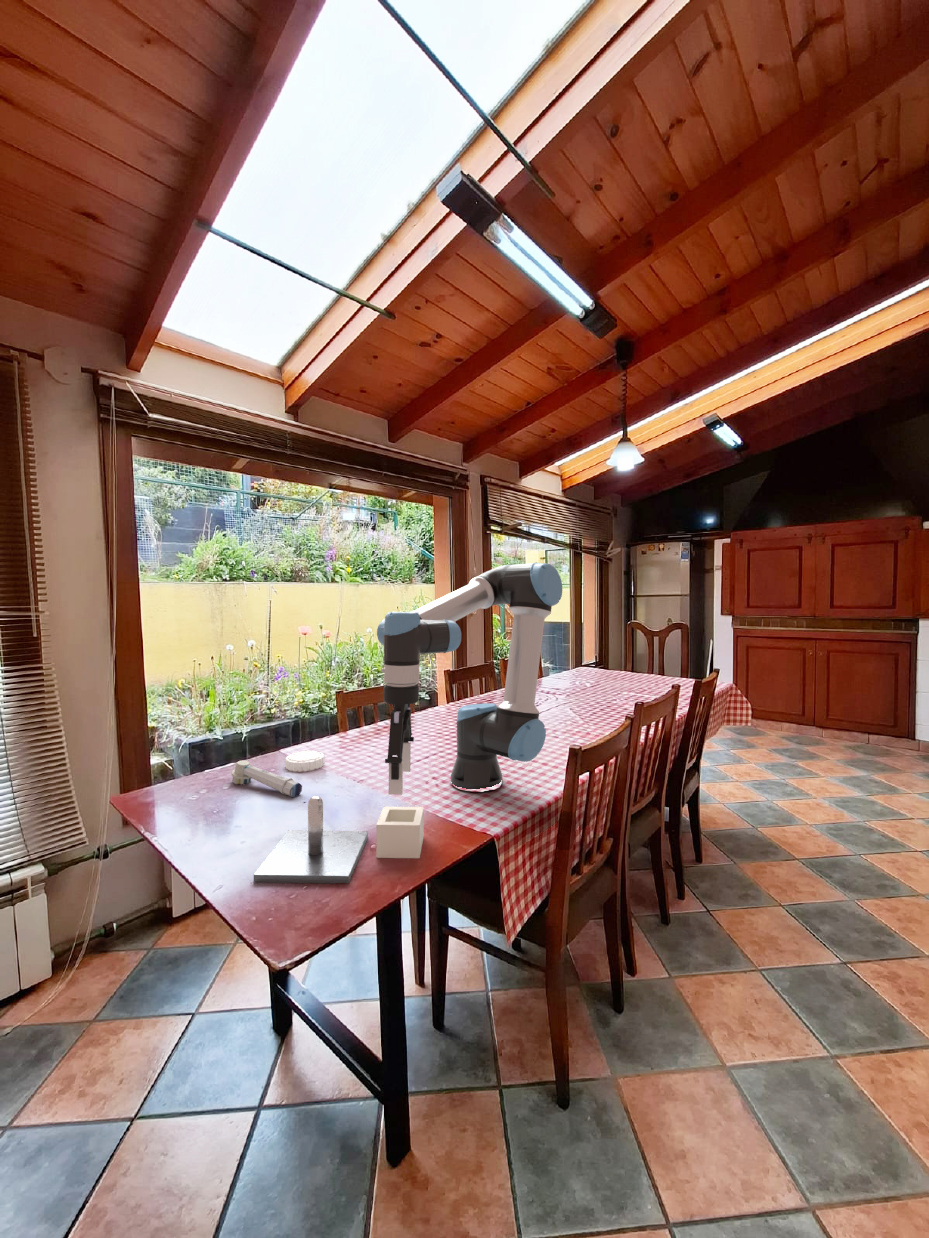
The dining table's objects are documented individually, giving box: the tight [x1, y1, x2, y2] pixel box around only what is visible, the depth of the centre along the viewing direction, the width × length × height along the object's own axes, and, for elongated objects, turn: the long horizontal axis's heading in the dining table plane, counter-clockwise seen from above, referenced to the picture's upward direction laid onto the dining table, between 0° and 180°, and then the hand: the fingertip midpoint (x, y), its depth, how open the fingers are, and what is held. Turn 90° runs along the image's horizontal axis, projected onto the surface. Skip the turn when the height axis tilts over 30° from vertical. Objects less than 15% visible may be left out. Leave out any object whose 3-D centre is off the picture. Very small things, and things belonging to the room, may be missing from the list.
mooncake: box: [284, 750, 325, 773], centre depth 160 cm, size 12×12×4 cm
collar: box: [375, 806, 425, 859], centre depth 108 cm, size 9×9×7 cm
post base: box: [253, 795, 369, 884], centre depth 103 cm, size 18×18×13 cm
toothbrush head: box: [231, 760, 303, 798], centre depth 141 cm, size 5×7×25 cm
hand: (400, 781), depth 107 cm, fingers open, 13 cm apart
